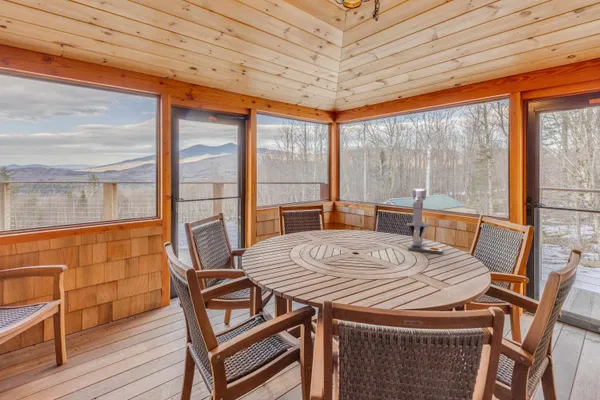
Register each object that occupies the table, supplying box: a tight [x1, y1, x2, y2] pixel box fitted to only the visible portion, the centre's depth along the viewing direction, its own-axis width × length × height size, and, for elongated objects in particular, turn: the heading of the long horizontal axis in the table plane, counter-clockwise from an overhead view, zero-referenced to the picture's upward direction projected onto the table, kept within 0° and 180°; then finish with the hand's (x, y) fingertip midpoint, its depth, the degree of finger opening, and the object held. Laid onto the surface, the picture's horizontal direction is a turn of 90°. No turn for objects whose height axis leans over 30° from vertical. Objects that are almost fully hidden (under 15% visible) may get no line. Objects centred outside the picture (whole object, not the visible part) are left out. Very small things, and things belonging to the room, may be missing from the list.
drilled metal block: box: [412, 231, 420, 242], centre depth 219 cm, size 4×4×7 cm
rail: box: [407, 244, 444, 255], centre depth 217 cm, size 8×22×2 cm, turn 60°
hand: (416, 236), depth 219 cm, fingers closed on drilled metal block, 4 cm apart
